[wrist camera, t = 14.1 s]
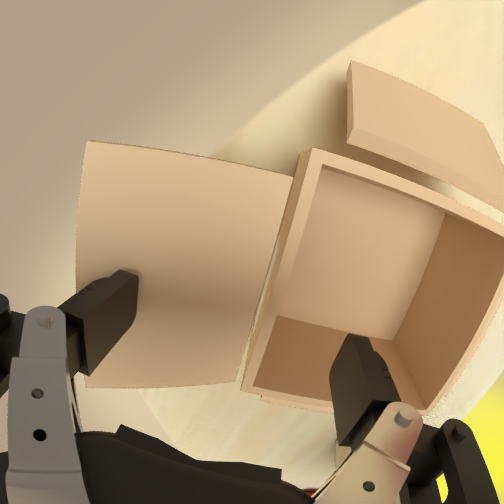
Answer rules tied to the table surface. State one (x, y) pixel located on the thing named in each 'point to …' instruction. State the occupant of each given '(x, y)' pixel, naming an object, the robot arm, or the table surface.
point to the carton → (372, 284)
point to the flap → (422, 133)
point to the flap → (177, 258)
